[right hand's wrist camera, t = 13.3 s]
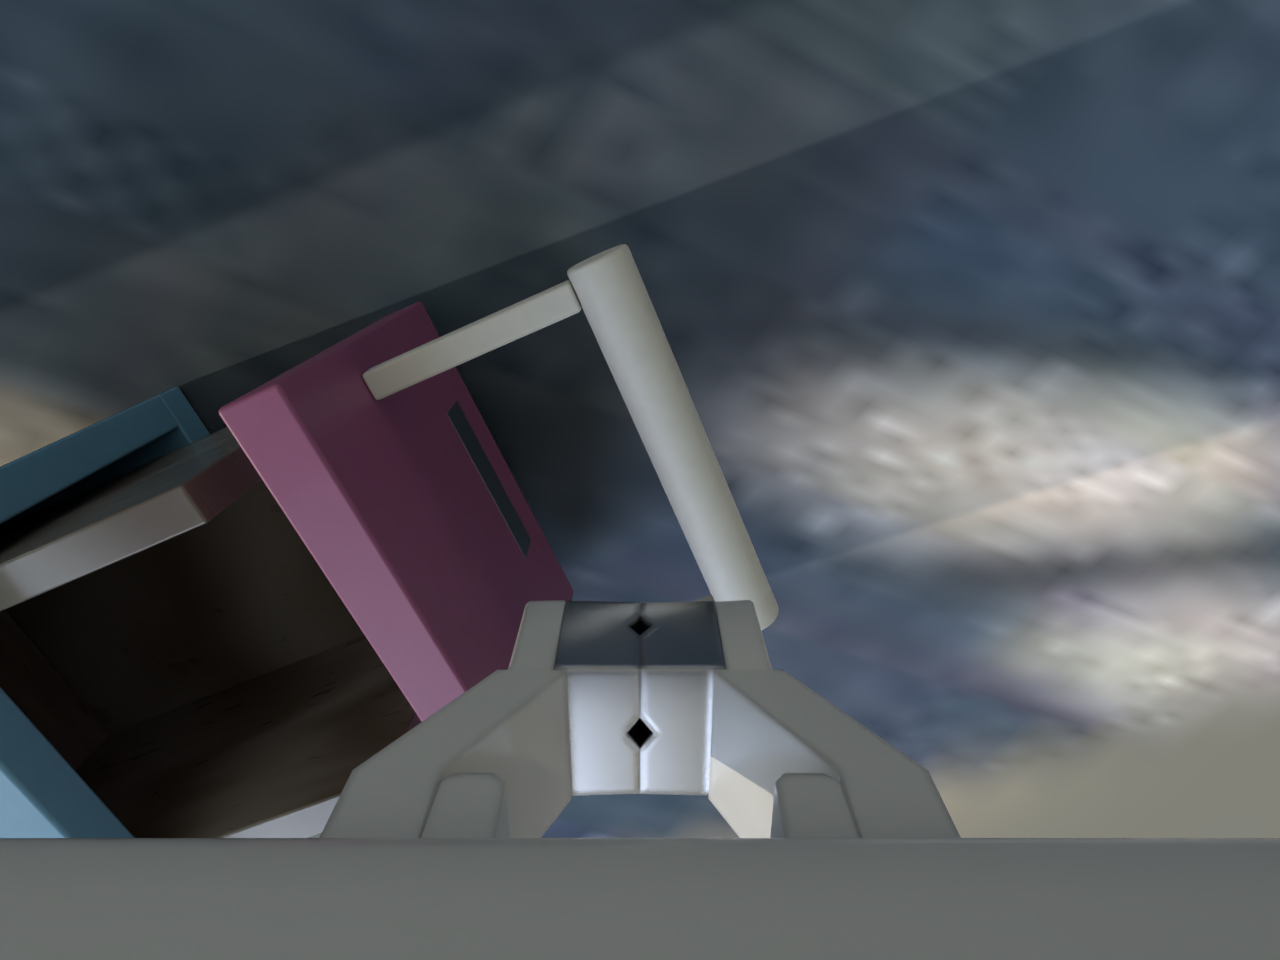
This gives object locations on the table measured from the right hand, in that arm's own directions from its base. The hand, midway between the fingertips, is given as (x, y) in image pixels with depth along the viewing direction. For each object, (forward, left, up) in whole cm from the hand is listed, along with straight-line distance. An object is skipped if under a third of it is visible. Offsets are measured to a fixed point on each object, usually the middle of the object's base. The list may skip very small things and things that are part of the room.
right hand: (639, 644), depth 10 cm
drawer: (+9, +1, -12) cm, 15 cm away
